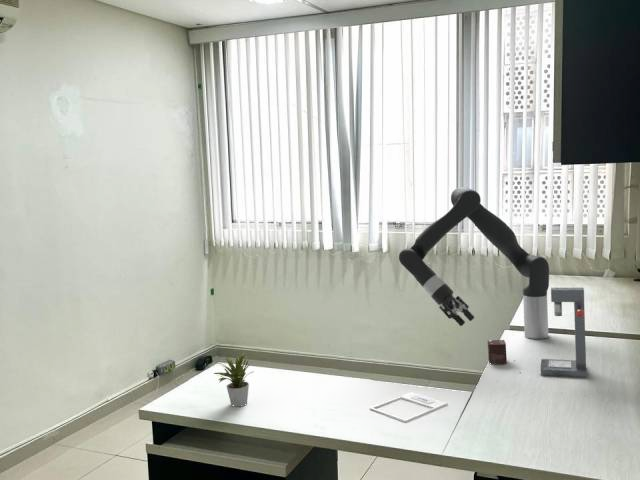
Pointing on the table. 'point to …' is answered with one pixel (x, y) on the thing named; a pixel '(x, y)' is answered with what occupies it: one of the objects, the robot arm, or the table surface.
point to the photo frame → (413, 398)
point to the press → (579, 365)
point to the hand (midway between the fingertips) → (468, 321)
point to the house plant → (236, 381)
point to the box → (497, 352)
